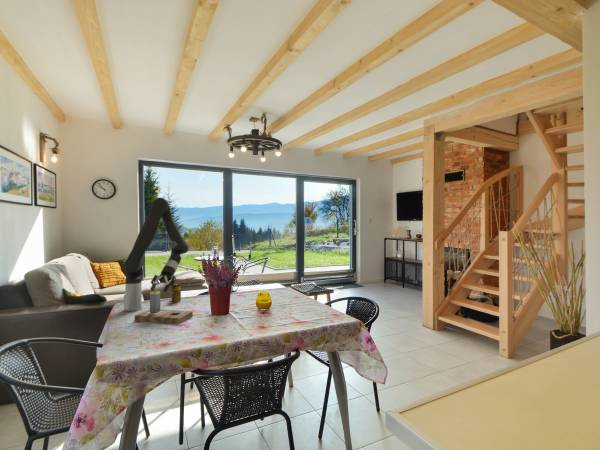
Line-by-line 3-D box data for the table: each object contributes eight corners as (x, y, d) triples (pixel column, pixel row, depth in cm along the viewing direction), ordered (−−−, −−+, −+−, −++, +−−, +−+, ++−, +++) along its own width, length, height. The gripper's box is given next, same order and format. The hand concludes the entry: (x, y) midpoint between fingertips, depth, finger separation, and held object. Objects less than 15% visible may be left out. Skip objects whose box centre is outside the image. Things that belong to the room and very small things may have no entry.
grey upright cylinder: (149, 312, 185) (149, 292, 185) (154, 311, 189) (154, 290, 189) (155, 313, 184) (155, 292, 184) (160, 311, 188) (160, 291, 188)
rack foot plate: (134, 320, 181) (134, 314, 181) (150, 313, 195) (150, 308, 195) (179, 323, 176) (179, 317, 176) (192, 316, 189) (192, 310, 189)
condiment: (183, 301, 225) (183, 284, 225) (171, 303, 219) (171, 286, 219) (178, 299, 230) (178, 283, 230) (166, 301, 225) (166, 284, 224)
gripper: (157, 264, 199) (144, 286, 188) (177, 265, 196) (166, 287, 185) (162, 271, 204) (150, 293, 193) (182, 272, 202) (171, 294, 190)
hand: (158, 290), depth 189 cm, fingers open, 8 cm apart
